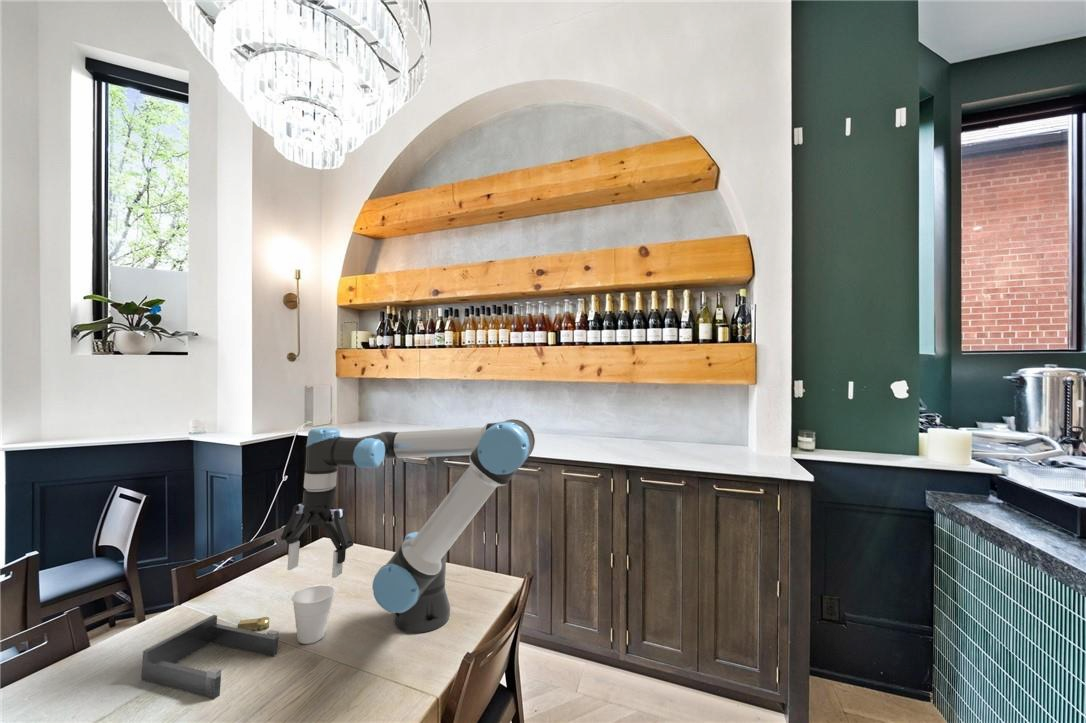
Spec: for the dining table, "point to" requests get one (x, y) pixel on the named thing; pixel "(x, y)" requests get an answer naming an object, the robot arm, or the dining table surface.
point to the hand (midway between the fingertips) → (314, 571)
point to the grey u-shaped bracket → (181, 645)
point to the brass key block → (254, 624)
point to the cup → (312, 612)
